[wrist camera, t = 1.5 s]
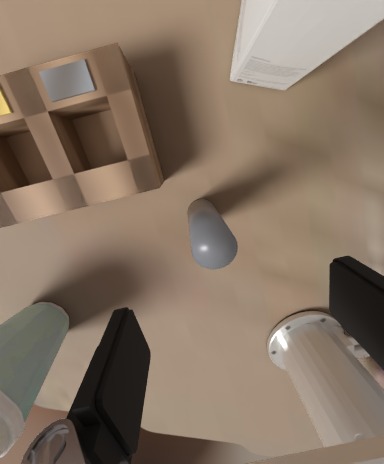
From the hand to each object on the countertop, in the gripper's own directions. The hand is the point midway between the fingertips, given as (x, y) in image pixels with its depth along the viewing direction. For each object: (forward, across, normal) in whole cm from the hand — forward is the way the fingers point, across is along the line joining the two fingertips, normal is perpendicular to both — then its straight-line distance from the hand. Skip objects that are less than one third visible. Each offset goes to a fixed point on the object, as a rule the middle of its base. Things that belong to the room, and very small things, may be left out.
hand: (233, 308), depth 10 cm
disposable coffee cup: (+18, +26, +10) cm, 33 cm away
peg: (+18, 0, 0) cm, 18 cm away
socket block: (+18, +11, -10) cm, 23 cm away
